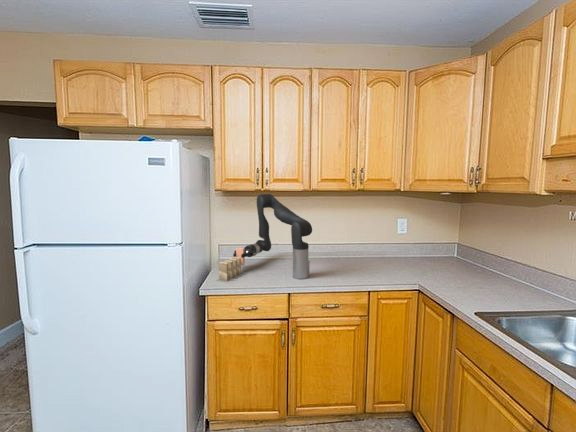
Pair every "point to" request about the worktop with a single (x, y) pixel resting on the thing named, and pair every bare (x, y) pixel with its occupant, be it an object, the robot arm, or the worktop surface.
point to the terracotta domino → (238, 254)
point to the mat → (234, 277)
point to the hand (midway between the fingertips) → (238, 255)
